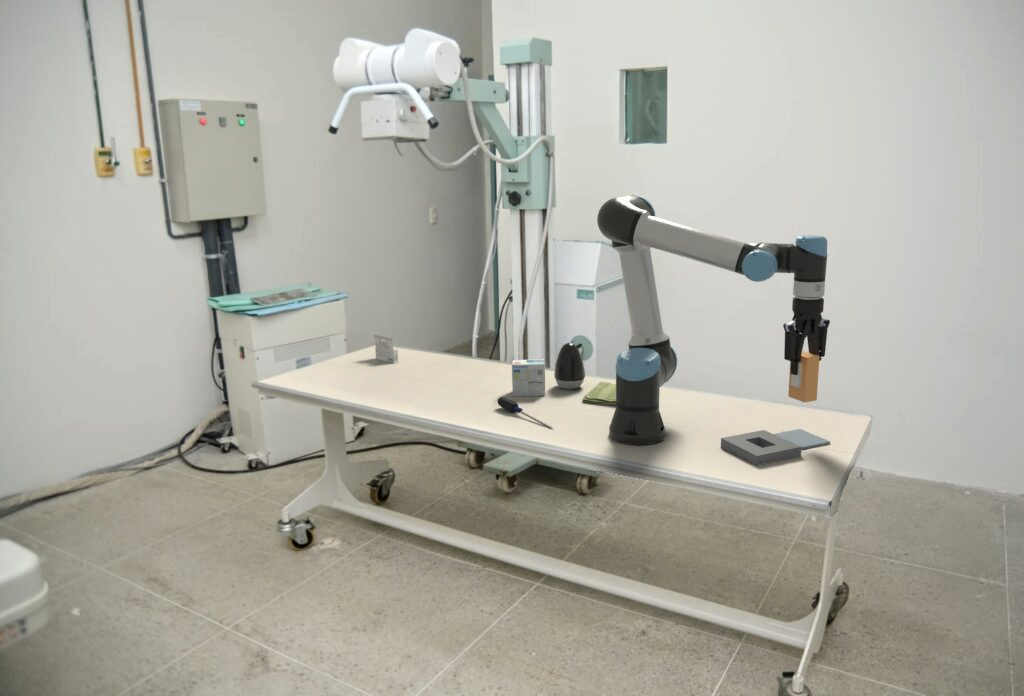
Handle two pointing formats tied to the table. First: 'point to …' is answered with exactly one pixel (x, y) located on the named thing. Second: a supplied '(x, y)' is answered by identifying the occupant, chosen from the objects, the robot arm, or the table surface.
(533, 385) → the light bulb box
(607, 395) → the washcloth
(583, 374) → the pump dispenser
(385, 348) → the ink cartridge box
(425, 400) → the table surface
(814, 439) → the rubber mat
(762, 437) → the gray slotted square plate
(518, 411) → the screwdriver
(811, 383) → the plug
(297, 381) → the table surface
